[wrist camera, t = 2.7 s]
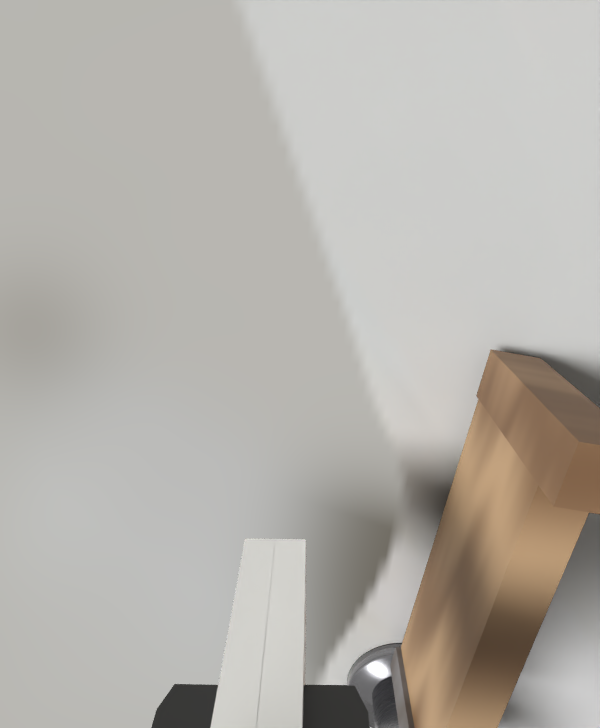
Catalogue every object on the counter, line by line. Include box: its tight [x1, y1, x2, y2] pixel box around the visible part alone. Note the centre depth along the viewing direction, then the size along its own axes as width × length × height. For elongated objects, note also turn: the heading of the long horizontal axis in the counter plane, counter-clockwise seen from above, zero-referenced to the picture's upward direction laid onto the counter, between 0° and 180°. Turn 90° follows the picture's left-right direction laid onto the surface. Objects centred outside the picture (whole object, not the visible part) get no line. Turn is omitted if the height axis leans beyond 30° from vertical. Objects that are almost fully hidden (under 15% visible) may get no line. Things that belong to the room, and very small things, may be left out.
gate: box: [390, 350, 600, 728], centre depth 16 cm, size 14×2×6 cm, turn 170°
